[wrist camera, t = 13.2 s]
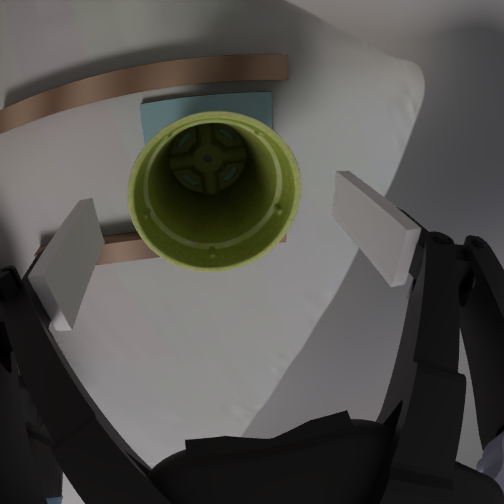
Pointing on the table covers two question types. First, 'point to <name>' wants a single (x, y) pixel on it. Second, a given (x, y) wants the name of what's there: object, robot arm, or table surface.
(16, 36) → the table surface
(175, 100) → the marked pad
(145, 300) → the table surface
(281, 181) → the plant pot
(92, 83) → the pair of walnut rails
